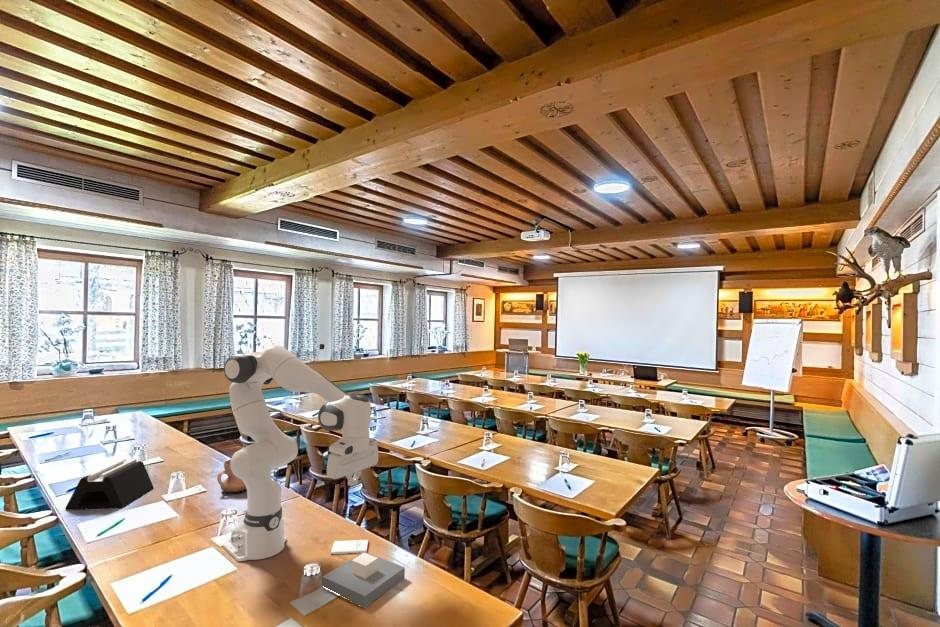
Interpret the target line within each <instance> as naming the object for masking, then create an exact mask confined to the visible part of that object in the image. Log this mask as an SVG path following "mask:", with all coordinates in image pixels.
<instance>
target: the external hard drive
mask: <svg viewBox="0 0 940 627" xmlns="http://www.w3.org/2000/svg"><path fill="white" fill-rule="evenodd" d="M368 545H369V539H354V540H353V539H352V540H350V539H349V540H335V541H333V544H332V547H331V551H330V555H331V554H340V555H347V554H346V553H357V554H359V553H358V552H367V553H368V547H369V546H368Z"/></svg>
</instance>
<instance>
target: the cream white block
mask: <svg viewBox="0 0 940 627" xmlns="http://www.w3.org/2000/svg"><path fill="white" fill-rule="evenodd" d="M360 554H361V553H360ZM369 554H370V553H369ZM369 554H366V553H363V554H361V555H359V554H358V555H359V556H358V555H357V556H358V557H356V556H355V557H356V558H354V557H353V558H354V559H353V558H352V559H353V560H352V566H351V573H352V574H355V575H357V576H359V577H362V578H364V579H366V578H368V577H369V576H370V575H372V574H373V573H375V572H376V571H378V558H377V557H378V556H377V557H374V556H372V555H373V554H372V555H369Z"/></svg>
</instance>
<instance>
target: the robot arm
mask: <svg viewBox="0 0 940 627" xmlns="http://www.w3.org/2000/svg"><path fill="white" fill-rule="evenodd" d="M223 374H224V376H225V378H226V379H227V380H228V381H229V382H231V384H230V386H229V388H228V393H229V401H230V407H231V409H232V412H233V415H234V416H233V417H234V419H235V422H236V425H237V427H238V428H237V429H238V430H239V432H240V433H241V434H243V435H245V436H248V437H250V438H251V439H252V440H253V441H254V442H255V443H252V444H249V445H246V446H244V447H243V448H241V449H239V450H237V451H236V452H234V453H233V454H232V457H231V463H230V466H231V470H232V472H233V474H234V475H235V476H236V477H238V478H239V479H241V480H242V481H243V482H244V484H245V486H246V489H247V490H246V494H247V496H246V498H247V502H246V504H247V505H246V506H247V509H246V510H245V511H244V510H243V513H242V515H243V516H244V518H243V521H241V522H240V523H239V524H238V525H236V526H235V527H234V528H233V529H232V531H231V535H230V539H229V540H227V541H226V542H224V543H223V547H222V548H223V549H224V550H225V551H226V552H227V553H229V555H230V556H231V557H232V558H233V559H234V560H236V561H237V562H246V561H257V560H263V559H267V558H271V557H273V556H275V555H278V554H279V553H280V552H282V551H283V550H284V549H285V542H286V541H287V540H286V539H287V538H288V537H287V536H286V535H285V523H284V518H283V507H282V485H280V484H279V482H277V481H276V480H273V479H272V471H274V470H276V469H279V468H281V467H284V466H286V465H287V464H289V463H291V462H292V461H293V460H294V459H296V457H297V455H298V453H299V452H298V451H299V446H298V443H297V441H296V440H295V439H294V438H293V437H292V436H289V435H287V434H285V432H283V431H282V430H281V429H280V428H279V427H278V426H277V425H276V423H275V422H274V420H273V418H272V416H271V414H270V411H269V409H268V408H269V407H268V406H267V403H266V400H265V397H264V394H263V392H262V387H263V385H269V384H270V383H272V381H273V380H274V382H276V384H277V385H279V387H281V388H283V389H284V390H286V391H288V392H292V393H293V392H294V393H310V394H315V395H318V396H319V397H321V398H323V399H324V400H325V401H327V402H328V403H325V404H323V405H322V406H320V408H319V411H318V413H317V419H318V420H317V421H318V423H319V425H320V427H321V428H322V429H324V430H325V431H328V432H332V431H333V432H335V431H341V432H342V435H341V436H342V437H340V438H339V439H338V440H336V441H335V442H333V443H332V444H331V445H330V446H329V448H328V452H330V454H329V456H328V458H327V462H326V463H327V464H326V475H327V477H328V478H330V479H332V480H337V479H340V478H343V477H346V479H347V485H348V486H350V487H352V486H355V485H357V484H358V483H359V479H360V477H361V476H360V475H361V474H362V470H365V469H368V468H371V467H373V466H376V465H377V464H378V462H379V447H378V440H377V439H376V438H374V437H373V438H370V429H369V428H370V424H371V418H372V417H371V416H372V415H371V414H372V411H371V410H372V406H371V401H370V398H369V397H368V396H366V395H364V394H360V393H347V392H346V391H344V390H343V389H342V388H341V387H339V386H338V385H336V384H335V383H334V382H333V381H331V380H330V379H328V378H327V377H325V376H324V375H323V374H321V373H319V372H317V371H316V370H314V369H313V368H311V367H310V366H308V365H307V364H306V363H304V362H303V361H302V360H301V359H300V358H299V357H298V356H296V354H294V353H293V352H291V351H290V350H288V349H287V348H285V347H284V346H282V345H278V344H276V345H270V346H268V347H267V348H266V349H264V351H253V352H247V353H246V352H245V353H236V354H233V355H231V356H229V357H228V358H227V359H226V360H225V362H224V364H223Z"/></svg>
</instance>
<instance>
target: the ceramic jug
mask: <svg viewBox="0 0 940 627" xmlns="http://www.w3.org/2000/svg"><path fill="white" fill-rule="evenodd" d="M230 463H231V459H228V460H225V461H223V468H224V469H223V470H220V471H219V472H218V474H217V477H216V478H217V482H218V484H219V486H220V489H221V491H223V492H225V493H229V492H231V494H233V493H232V492H236V493H240V491H242V492H245V491H247V489H246V486H245V484H244V482H243V481H242V480H241V479H239V478H238V477H236V476H235V475H234V474H233V472H232V470H231V466H230ZM224 474H225V475H226V476H227V477H226V478H225V479H224V480H223V481H222V475H224ZM244 490H245V491H244Z"/></svg>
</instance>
